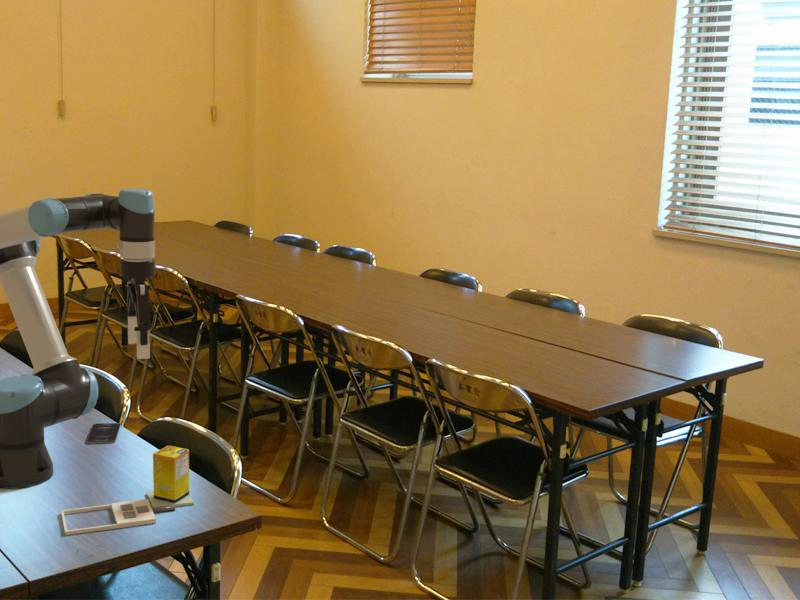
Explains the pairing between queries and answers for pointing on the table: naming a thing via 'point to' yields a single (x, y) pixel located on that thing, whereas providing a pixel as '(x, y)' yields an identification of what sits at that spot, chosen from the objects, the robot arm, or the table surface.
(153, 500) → the mat
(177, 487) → the supplement box
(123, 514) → the white rectangular frame panel
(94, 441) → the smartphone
